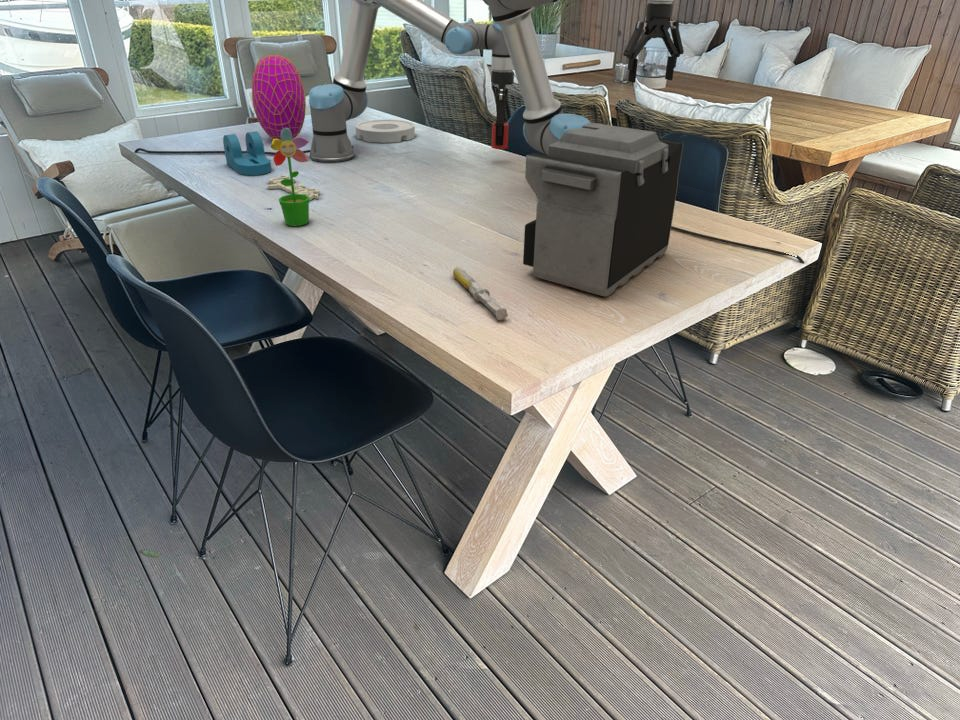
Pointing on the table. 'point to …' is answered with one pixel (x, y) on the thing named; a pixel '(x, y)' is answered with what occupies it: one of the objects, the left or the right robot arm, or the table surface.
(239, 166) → the camera mount
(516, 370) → the table surface
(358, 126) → the ashtray
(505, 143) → the canister
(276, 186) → the decorative sign
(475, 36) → the left robot arm
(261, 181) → the table surface
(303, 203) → the potted flower
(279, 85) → the decorative egg
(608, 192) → the grey cooler box
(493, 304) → the syringe
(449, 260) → the table surface
